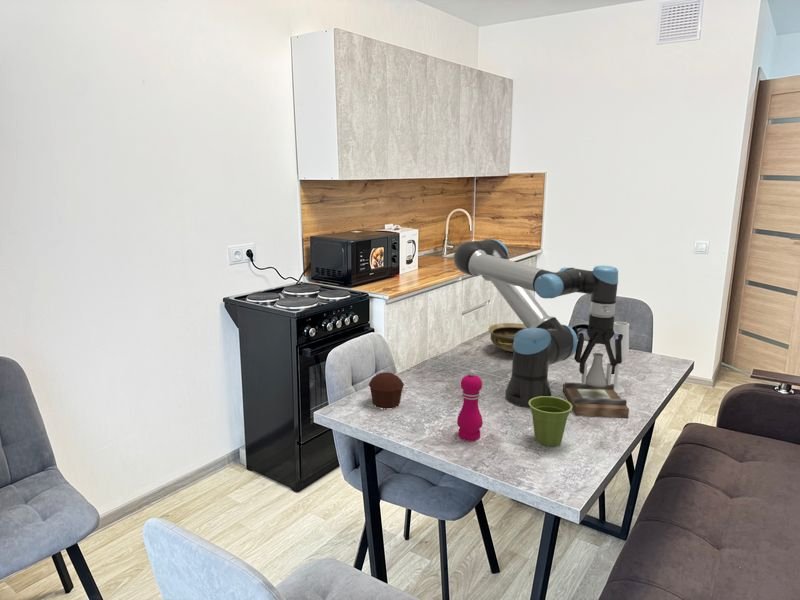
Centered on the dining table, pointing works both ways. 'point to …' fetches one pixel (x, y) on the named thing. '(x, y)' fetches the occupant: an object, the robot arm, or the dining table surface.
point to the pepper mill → (470, 408)
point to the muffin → (386, 390)
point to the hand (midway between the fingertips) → (595, 382)
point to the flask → (596, 372)
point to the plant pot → (549, 419)
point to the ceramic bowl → (505, 335)
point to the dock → (595, 400)
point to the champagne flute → (624, 330)
